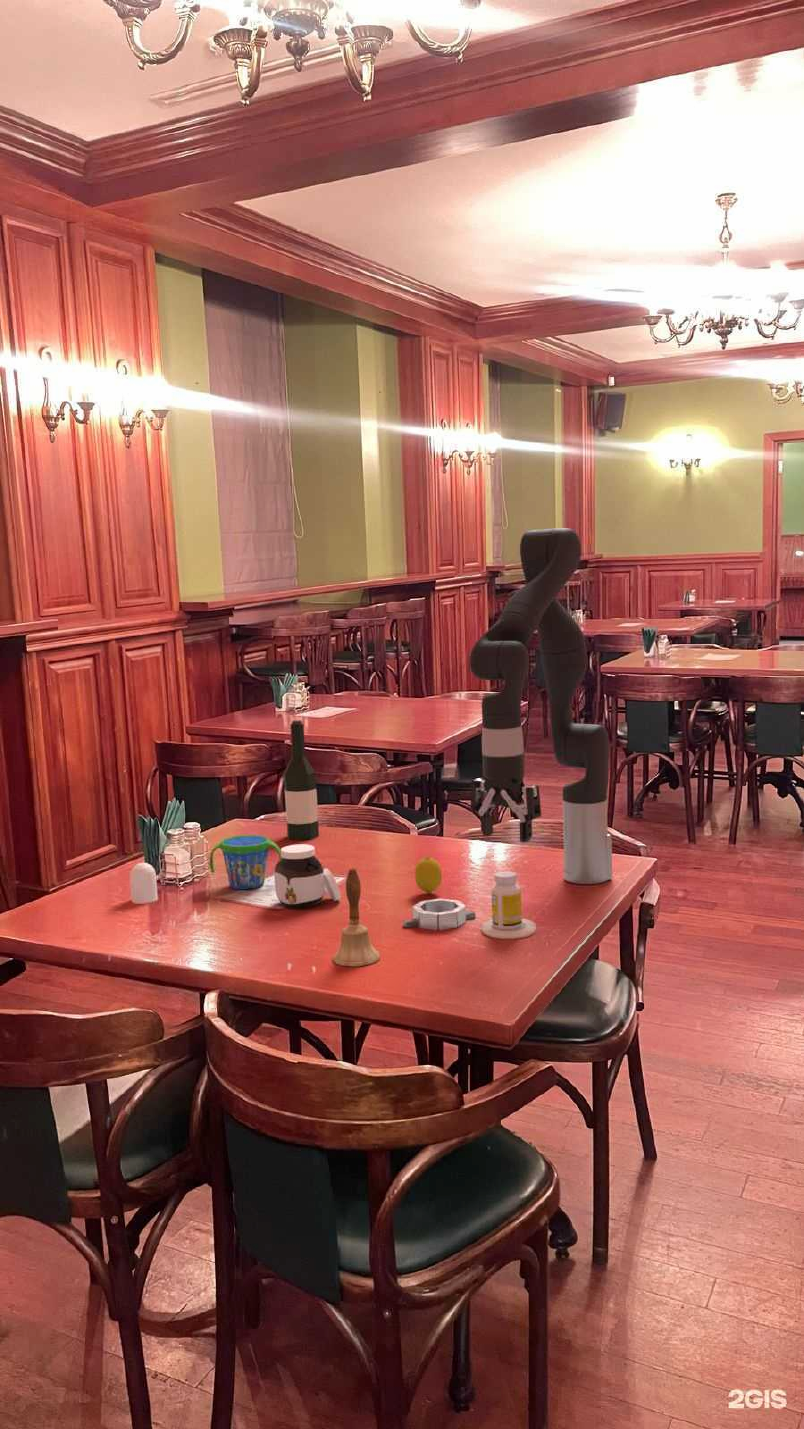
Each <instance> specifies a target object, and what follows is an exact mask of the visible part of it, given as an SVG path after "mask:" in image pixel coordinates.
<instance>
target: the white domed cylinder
mask: <svg viewBox="0 0 804 1429" xmlns="http://www.w3.org/2000/svg"><path fill="white" fill-rule="evenodd" d="M156 874H157V873H156V870H155V868H154V867H153V866H152V865H151V864H149V863H147V862H139V863H137V864H136V865H133V867H132V869H131V870H130V873H129V882H130V884H129V885H130V896H131V903H133V904H140V905H142V904H143V905H144V904H150V903H154V902H156V901H157V900H158V899H159V898H158V886H157V875H156Z"/></svg>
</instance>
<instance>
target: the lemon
mask: <svg viewBox="0 0 804 1429" xmlns="http://www.w3.org/2000/svg"><path fill="white" fill-rule="evenodd" d="M441 868H442V867H441V865H440V863H439V862H438V861H437V860H435V859H434V858H432V857H430V856H426V857H425V858H422V859H420V860H419V861H418V863H417V865H416V867H415V871H414V879H415V883H416V886H417V887H418V888H419V889H420V890H422V891H423V892H425V893H426V894H428V895H431V894H432V893H433V892H434V891H436V890H438V888H439V887H440V885H441V884H442V878H443V877H442V874H443V873H442V869H441Z"/></svg>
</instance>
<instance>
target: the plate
mask: <svg viewBox="0 0 804 1429" xmlns="http://www.w3.org/2000/svg"><path fill="white" fill-rule="evenodd" d="M536 931H537V925H536V923H535V922H534V921H532V920H530V919H527V918H522V924H521V926H520V927H518V928H516V929H509V930H505V929H498V928H495V927H494V926H493V922H492V919H488V920H486V921H485V922H482V924H481V932H482V934H484V935H485V936H487V937H490V938H493V939H501V940H516V939H523V938H527V937H530V936H532V935H534V934H535V933H536Z"/></svg>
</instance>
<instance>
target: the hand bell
mask: <svg viewBox="0 0 804 1429" xmlns="http://www.w3.org/2000/svg"><path fill="white" fill-rule="evenodd" d="M346 876H347V877H346V880H345V881H346V882H345V893H346V894H345V895H346V898H347V901H348V905H349V924H348V925H347V926H345V927H344V928H342V931H341V941H340V946H339V948H338V949H337V952H335V953H334V955H333V957H332V962H333V963H335V965H338V966H342V967H350V968H351V967H363V966H368V965H371V964H374V963H376V962H378V961H379V960H380V958H381V955H380V953H379V951H378V950H376V949H375V948H374V946H373V945H372V942H371V939H370V936H369V930H368V927H366V926H365V925H363V924H361V923H360V911H359V904H360V900H361V892H362V887H361V880H360V877H359V875H358V871H357V869H356V868H349V870H348V874H347V875H346Z"/></svg>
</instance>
